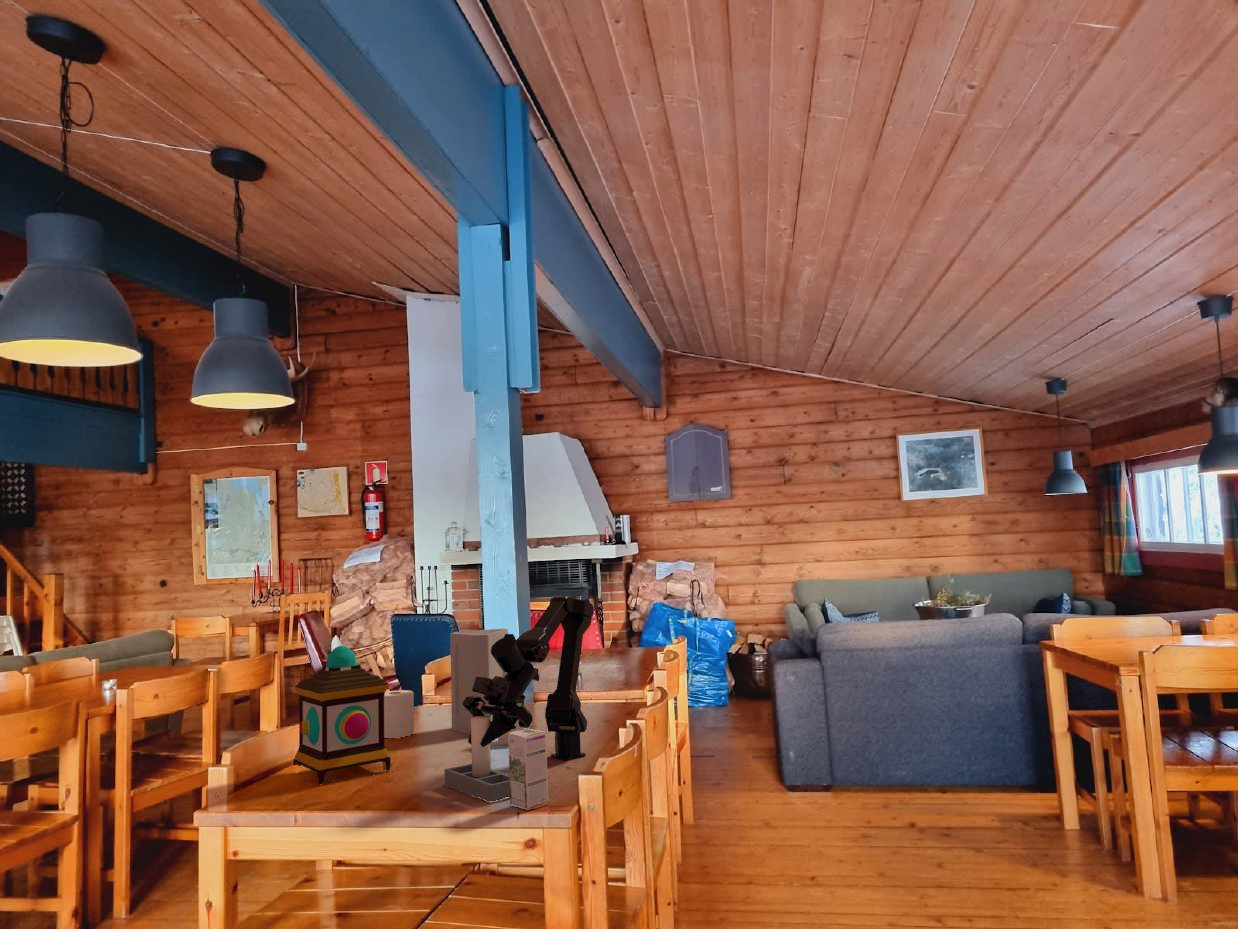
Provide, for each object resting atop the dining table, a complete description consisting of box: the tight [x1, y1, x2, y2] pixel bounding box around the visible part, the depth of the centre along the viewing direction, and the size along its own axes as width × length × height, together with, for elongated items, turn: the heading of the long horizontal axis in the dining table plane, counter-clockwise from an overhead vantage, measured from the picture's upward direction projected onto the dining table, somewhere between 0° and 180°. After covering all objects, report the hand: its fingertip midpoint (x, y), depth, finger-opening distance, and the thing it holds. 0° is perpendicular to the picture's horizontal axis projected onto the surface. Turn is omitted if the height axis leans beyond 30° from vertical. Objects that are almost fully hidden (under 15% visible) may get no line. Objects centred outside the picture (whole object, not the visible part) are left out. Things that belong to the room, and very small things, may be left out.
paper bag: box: [449, 628, 509, 735], centre depth 251 cm, size 19×15×28 cm
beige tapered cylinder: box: [470, 716, 492, 777], centre depth 182 cm, size 4×4×12 cm
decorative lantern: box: [292, 645, 392, 785], centre depth 204 cm, size 20×20×30 cm
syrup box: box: [508, 728, 549, 808], centre depth 169 cm, size 6×6×14 cm
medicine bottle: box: [497, 700, 530, 746], centre depth 229 cm, size 7×7×12 cm
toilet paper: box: [384, 689, 415, 738], centre depth 244 cm, size 10×10×12 cm
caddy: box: [444, 763, 510, 801], centre depth 181 cm, size 20×7×4 cm, turn 40°
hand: (475, 744), depth 181 cm, fingers closed on beige tapered cylinder, 4 cm apart
